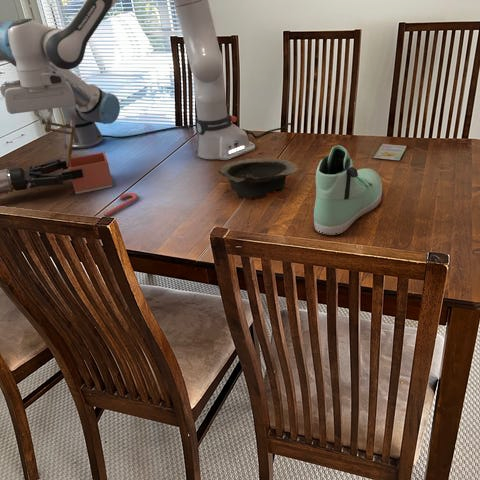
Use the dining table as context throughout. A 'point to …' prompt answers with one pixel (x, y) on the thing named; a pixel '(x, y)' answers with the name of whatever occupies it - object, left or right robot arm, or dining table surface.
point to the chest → (91, 172)
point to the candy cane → (122, 203)
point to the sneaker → (343, 192)
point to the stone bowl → (257, 176)
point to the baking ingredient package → (390, 152)
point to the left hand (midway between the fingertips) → (81, 167)
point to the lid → (71, 133)
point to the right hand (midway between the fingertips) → (46, 123)
